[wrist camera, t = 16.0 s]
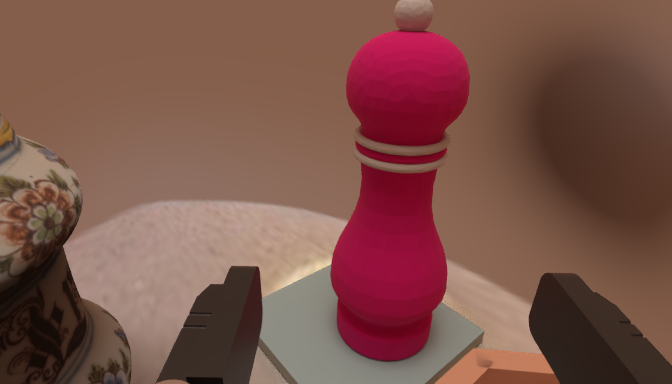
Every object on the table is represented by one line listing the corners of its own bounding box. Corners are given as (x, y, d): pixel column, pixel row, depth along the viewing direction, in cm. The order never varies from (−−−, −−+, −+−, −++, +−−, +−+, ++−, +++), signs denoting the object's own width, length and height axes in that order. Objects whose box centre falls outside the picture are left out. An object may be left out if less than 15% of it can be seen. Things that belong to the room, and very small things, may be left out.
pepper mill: (423, 288, 29) (468, -5, 21) (450, 369, 23) (533, -8, 14) (329, 288, 29) (334, -8, 20) (329, 369, 23) (337, -13, 14)
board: (238, 320, 27) (237, 310, 27) (361, 258, 34) (361, 249, 34) (351, 460, 19) (351, 448, 19) (481, 341, 26) (484, 330, 26)
